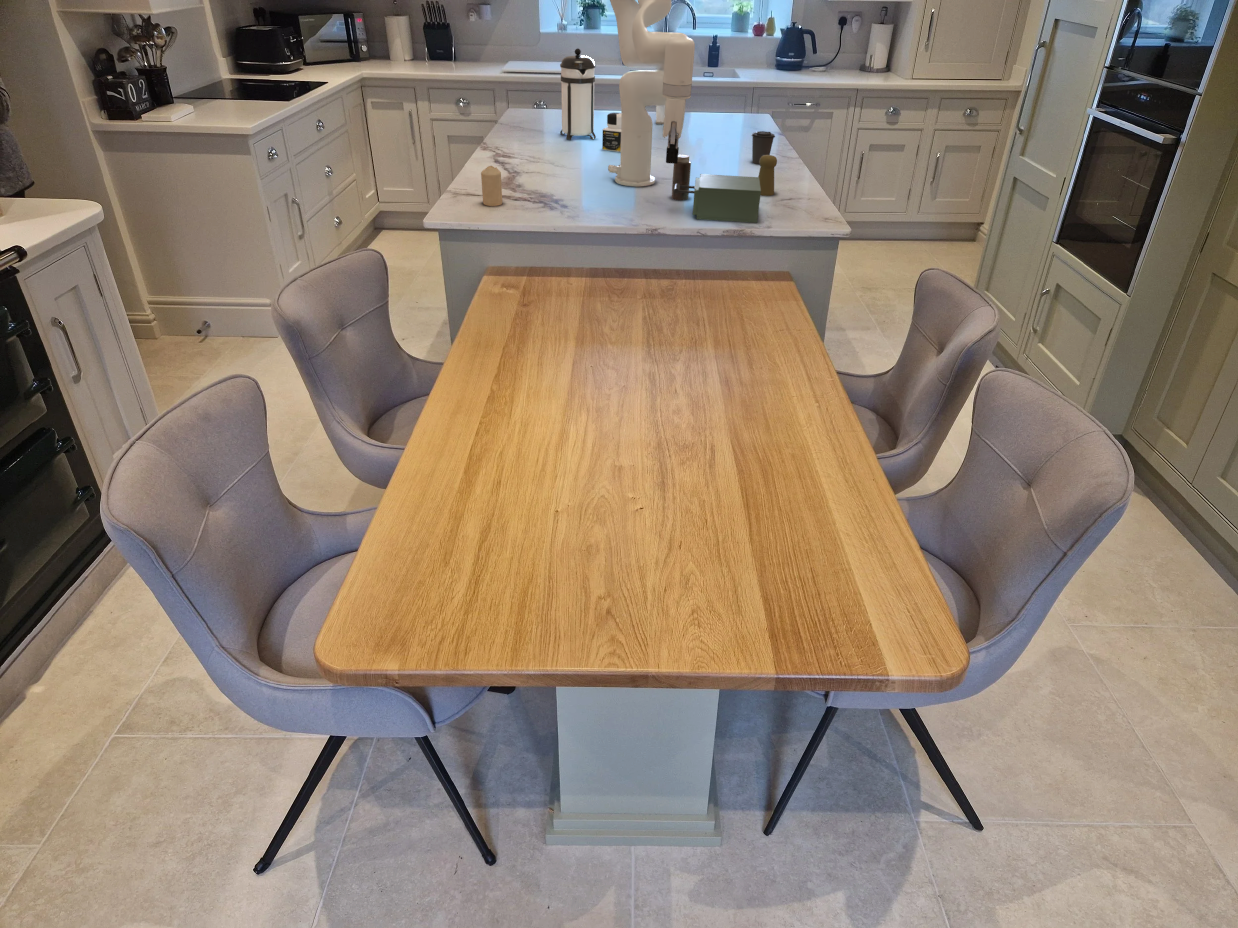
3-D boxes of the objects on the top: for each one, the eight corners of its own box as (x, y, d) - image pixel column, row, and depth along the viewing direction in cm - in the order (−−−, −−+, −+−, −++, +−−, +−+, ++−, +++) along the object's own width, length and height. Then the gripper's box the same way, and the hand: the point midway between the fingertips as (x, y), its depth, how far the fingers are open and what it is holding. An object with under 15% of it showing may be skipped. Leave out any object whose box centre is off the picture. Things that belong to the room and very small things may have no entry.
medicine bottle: (601, 150, 289) (602, 114, 282) (609, 146, 295) (610, 111, 288) (620, 152, 287) (621, 116, 280) (627, 148, 292) (629, 113, 286)
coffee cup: (776, 163, 280) (780, 132, 274) (763, 167, 275) (766, 135, 269) (757, 159, 284) (760, 128, 279) (743, 162, 279) (746, 131, 274)
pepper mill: (671, 200, 238) (673, 157, 231) (672, 195, 242) (674, 153, 235) (688, 201, 238) (691, 158, 231) (688, 196, 242) (691, 154, 235)
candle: (483, 200, 232) (481, 164, 226) (502, 201, 232) (501, 164, 227) (482, 206, 227) (480, 169, 222) (502, 206, 228) (500, 169, 222)
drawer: (671, 214, 223) (673, 188, 219) (674, 200, 234) (675, 176, 231) (748, 218, 222) (751, 193, 218) (747, 204, 233) (750, 180, 229)
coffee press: (606, 136, 309) (608, 48, 292) (582, 143, 297) (583, 52, 281) (569, 130, 316) (569, 44, 300) (545, 136, 305) (543, 48, 288)
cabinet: (696, 219, 223) (699, 187, 218) (697, 204, 235) (700, 174, 230) (757, 223, 221) (760, 191, 217) (755, 208, 234) (759, 177, 229)
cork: (773, 196, 244) (778, 158, 238) (753, 195, 245) (758, 157, 239) (774, 191, 249) (779, 154, 243) (754, 189, 250) (759, 152, 244)
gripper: (664, 84, 219) (659, 155, 229) (660, 95, 206) (656, 169, 217) (692, 86, 218) (686, 156, 229) (690, 97, 206) (684, 171, 216)
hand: (671, 162), depth 223 cm, fingers closed
